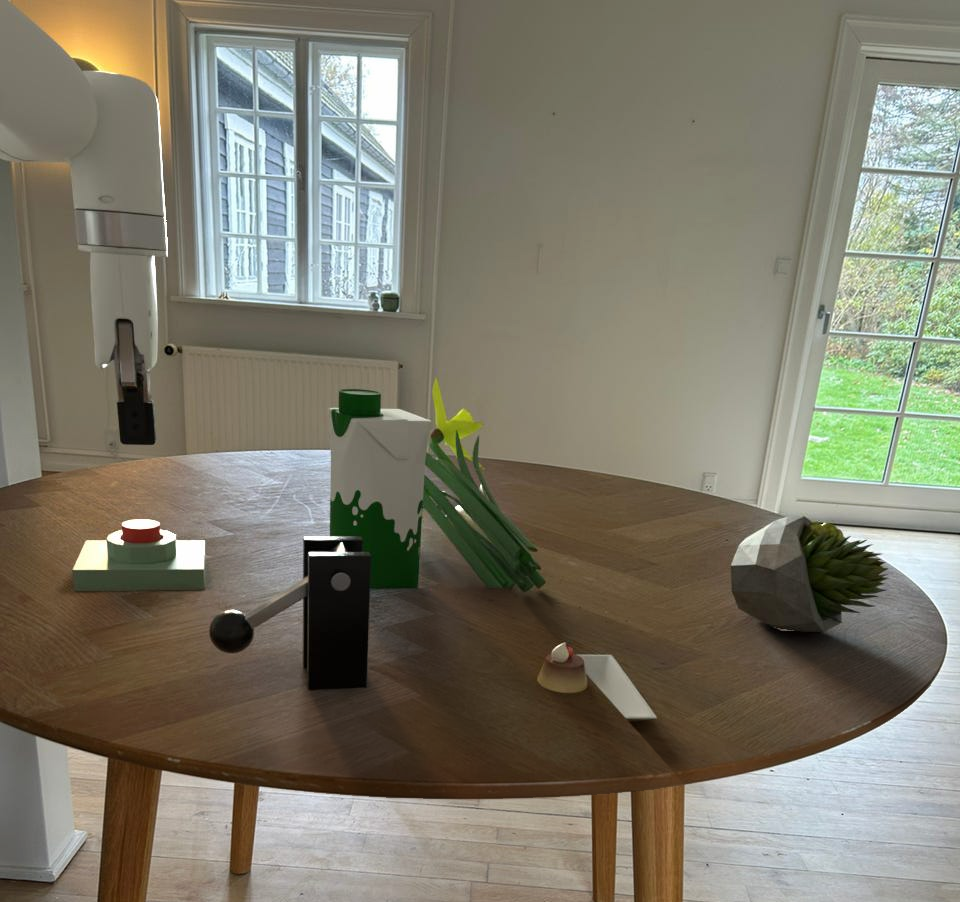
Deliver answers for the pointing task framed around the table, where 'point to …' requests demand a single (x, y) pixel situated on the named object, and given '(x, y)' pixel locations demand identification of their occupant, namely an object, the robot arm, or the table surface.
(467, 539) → the daffodil flowers
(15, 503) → the table surface
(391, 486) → the milk carton
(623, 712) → the dessert
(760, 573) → the potted plant
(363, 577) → the bracket
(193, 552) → the control block
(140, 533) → the button
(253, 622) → the lever
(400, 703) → the table surface
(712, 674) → the table surface
